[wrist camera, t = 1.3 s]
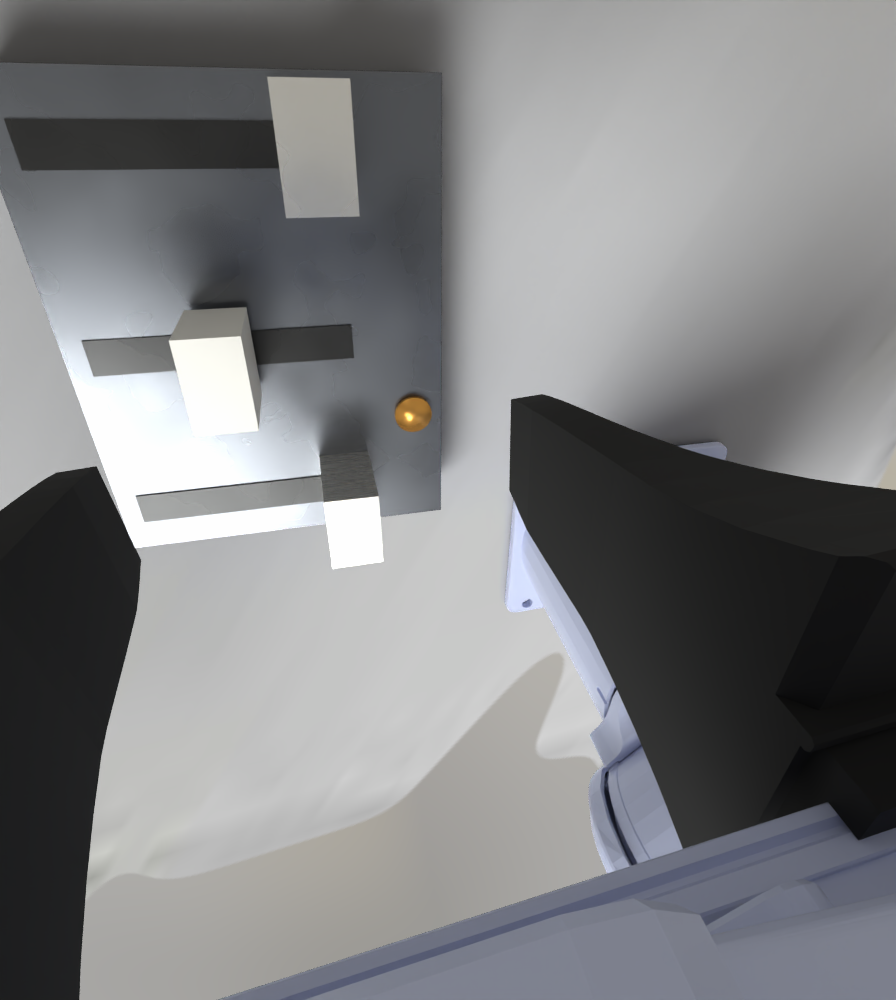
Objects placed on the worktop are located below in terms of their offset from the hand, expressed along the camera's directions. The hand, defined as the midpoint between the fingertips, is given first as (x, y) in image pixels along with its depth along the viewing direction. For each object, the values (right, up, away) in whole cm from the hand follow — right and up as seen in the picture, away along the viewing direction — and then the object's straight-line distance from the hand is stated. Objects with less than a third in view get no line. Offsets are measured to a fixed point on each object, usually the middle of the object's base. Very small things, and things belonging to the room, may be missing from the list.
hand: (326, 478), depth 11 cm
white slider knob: (-4, +4, +6) cm, 8 cm away
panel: (-4, +5, +8) cm, 10 cm away
